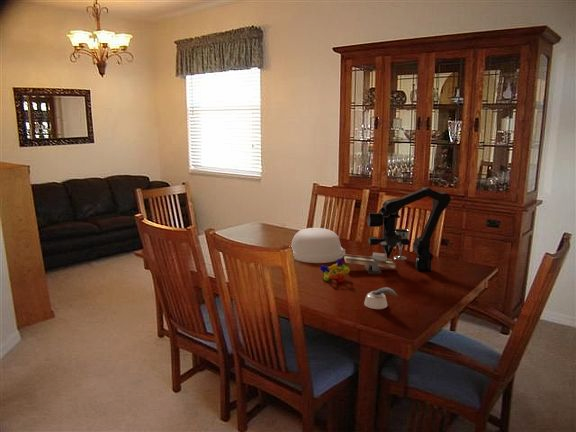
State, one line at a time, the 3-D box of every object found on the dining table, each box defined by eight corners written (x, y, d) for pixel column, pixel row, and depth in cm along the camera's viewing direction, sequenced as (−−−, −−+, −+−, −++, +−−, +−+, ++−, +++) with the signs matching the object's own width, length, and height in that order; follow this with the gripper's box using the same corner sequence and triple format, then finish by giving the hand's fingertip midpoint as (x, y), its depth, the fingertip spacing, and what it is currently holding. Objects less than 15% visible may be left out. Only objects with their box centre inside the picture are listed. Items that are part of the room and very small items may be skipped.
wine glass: (391, 259, 240) (392, 231, 237) (393, 255, 248) (395, 228, 245) (406, 260, 238) (408, 232, 234) (408, 256, 245) (410, 229, 242)
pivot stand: (376, 266, 228) (377, 255, 227) (381, 273, 218) (381, 262, 216) (364, 266, 228) (365, 255, 227) (368, 273, 218) (369, 262, 216)
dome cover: (346, 248, 260) (347, 224, 257) (343, 265, 231) (344, 238, 228) (291, 245, 266) (291, 222, 263) (281, 261, 237) (281, 235, 234)
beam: (391, 265, 226) (392, 259, 226) (394, 269, 219) (395, 263, 219) (343, 259, 226) (344, 254, 225) (345, 264, 219) (346, 258, 218)
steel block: (383, 260, 224) (384, 253, 224) (385, 263, 220) (386, 256, 219) (371, 259, 224) (372, 252, 223) (373, 262, 220) (374, 255, 219)
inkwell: (377, 298, 188) (378, 275, 186) (407, 315, 172) (409, 290, 170) (359, 302, 183) (360, 279, 181) (388, 320, 168) (390, 294, 166)
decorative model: (323, 277, 200) (317, 259, 213) (327, 293, 204) (321, 274, 218) (352, 270, 200) (344, 252, 213) (355, 286, 204) (347, 267, 217)
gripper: (372, 230, 211) (371, 263, 214) (413, 230, 211) (411, 263, 214) (368, 225, 221) (367, 256, 225) (407, 225, 221) (405, 256, 225)
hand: (387, 257), depth 222 cm, fingers closed
